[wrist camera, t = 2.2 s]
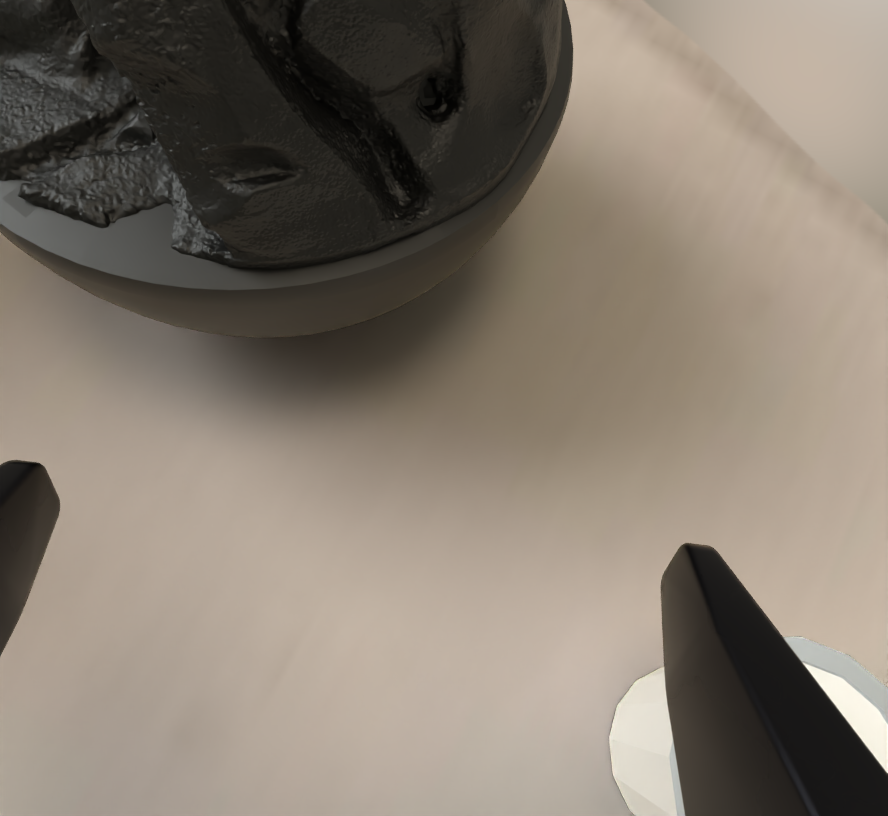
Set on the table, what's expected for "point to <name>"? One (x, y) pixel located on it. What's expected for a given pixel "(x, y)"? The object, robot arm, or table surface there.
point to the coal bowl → (271, 148)
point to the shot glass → (651, 743)
